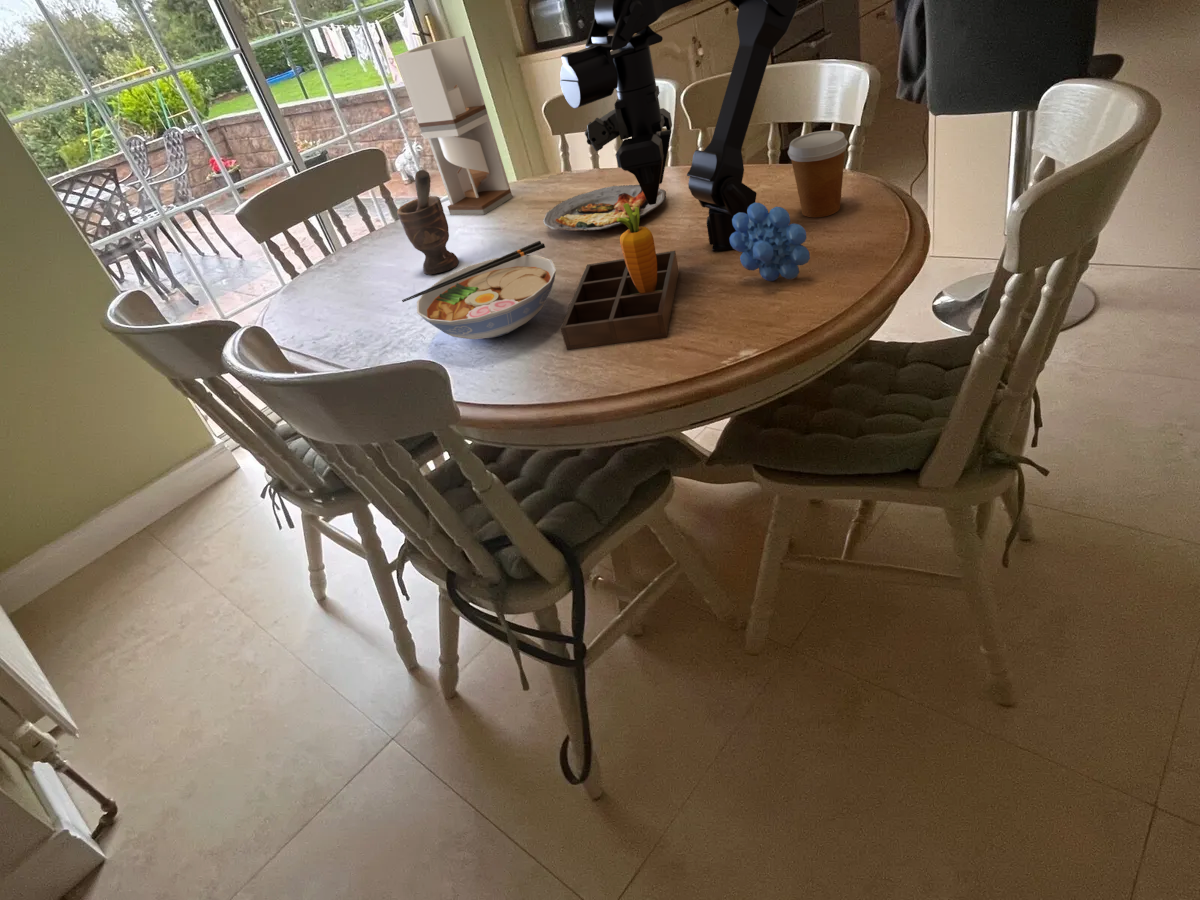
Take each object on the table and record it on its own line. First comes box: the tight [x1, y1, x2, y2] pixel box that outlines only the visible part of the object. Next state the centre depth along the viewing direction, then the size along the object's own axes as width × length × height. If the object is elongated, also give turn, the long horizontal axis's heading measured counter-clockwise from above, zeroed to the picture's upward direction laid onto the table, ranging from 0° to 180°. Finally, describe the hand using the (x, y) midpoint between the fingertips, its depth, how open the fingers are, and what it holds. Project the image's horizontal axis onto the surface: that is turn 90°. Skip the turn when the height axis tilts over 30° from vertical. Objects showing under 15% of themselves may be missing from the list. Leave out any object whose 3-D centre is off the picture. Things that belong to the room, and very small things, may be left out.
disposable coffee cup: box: [787, 129, 849, 218], centre depth 125 cm, size 10×10×12 cm
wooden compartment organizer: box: [560, 250, 680, 350], centre depth 114 cm, size 15×22×4 cm
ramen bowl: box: [401, 240, 557, 340], centre depth 118 cm, size 25×23×8 cm
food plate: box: [543, 184, 667, 232], centre depth 151 cm, size 25×23×4 cm
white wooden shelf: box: [394, 35, 513, 216], centre depth 169 cm, size 11×11×35 cm
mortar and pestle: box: [396, 169, 459, 276], centre depth 144 cm, size 12×9×20 cm
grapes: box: [729, 201, 811, 282], centre depth 107 cm, size 12×7×12 cm, turn 62°
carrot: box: [617, 203, 657, 293], centre depth 109 cm, size 5×5×15 cm
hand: (655, 193), depth 115 cm, fingers open, 9 cm apart
